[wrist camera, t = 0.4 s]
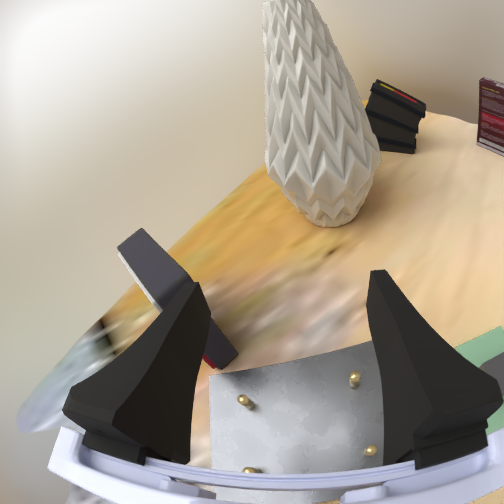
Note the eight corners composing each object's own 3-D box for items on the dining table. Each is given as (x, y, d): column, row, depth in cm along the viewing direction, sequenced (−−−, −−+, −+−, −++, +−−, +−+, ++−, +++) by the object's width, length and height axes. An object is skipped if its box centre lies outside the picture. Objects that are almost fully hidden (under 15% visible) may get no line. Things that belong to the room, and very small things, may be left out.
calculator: (172, 323, 40) (110, 250, 29) (195, 303, 41) (140, 225, 31) (216, 375, 32) (147, 307, 22) (243, 351, 34) (188, 272, 24)
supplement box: (510, 151, 44) (517, 88, 33) (507, 158, 43) (515, 92, 32) (480, 137, 50) (483, 76, 39) (475, 144, 48) (478, 79, 37)
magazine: (352, 134, 59) (375, 77, 46) (405, 161, 57) (434, 108, 44) (349, 142, 57) (373, 82, 44) (404, 170, 55) (435, 115, 42)
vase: (342, 169, 53) (306, -3, 31) (402, 214, 41) (385, -12, 19) (264, 205, 52) (200, 21, 29) (313, 264, 40) (242, 1, 17)
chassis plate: (419, 474, 18) (428, 474, 16) (218, 508, 21) (203, 511, 19) (383, 340, 30) (386, 325, 27) (212, 378, 32) (199, 367, 30)
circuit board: (549, 396, 16) (570, 382, 12) (449, 459, 18) (466, 455, 15) (517, 318, 24) (533, 297, 21) (422, 363, 26) (433, 345, 23)
